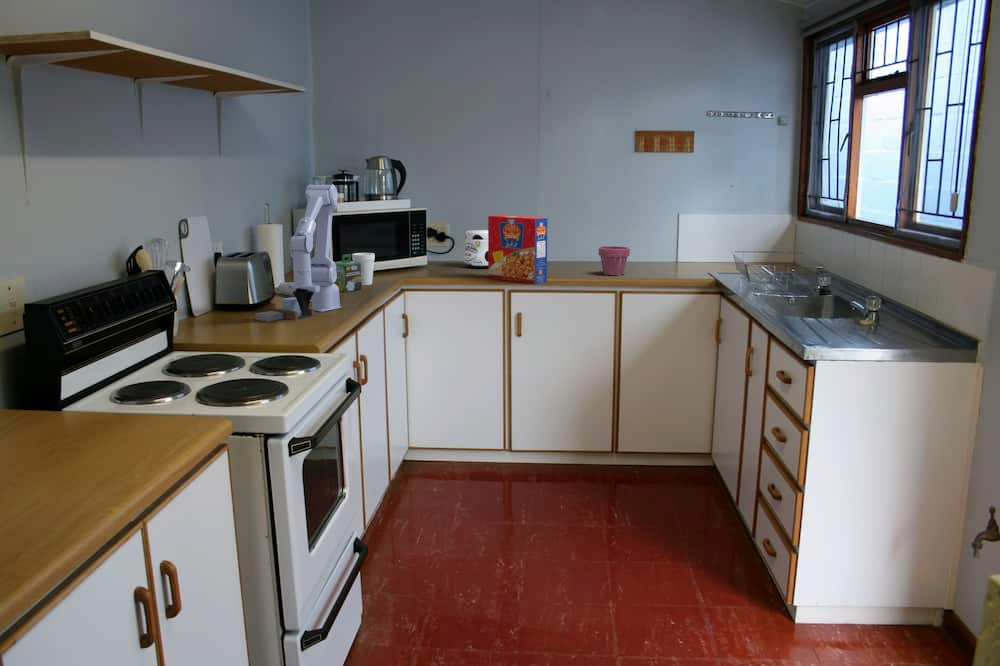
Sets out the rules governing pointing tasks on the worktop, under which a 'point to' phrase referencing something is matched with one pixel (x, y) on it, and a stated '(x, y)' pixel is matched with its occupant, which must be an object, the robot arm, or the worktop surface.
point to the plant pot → (613, 259)
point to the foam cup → (365, 266)
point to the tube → (286, 290)
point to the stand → (269, 316)
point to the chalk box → (348, 275)
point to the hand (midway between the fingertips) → (304, 311)
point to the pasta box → (517, 248)
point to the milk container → (476, 248)
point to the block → (291, 305)
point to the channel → (296, 314)
